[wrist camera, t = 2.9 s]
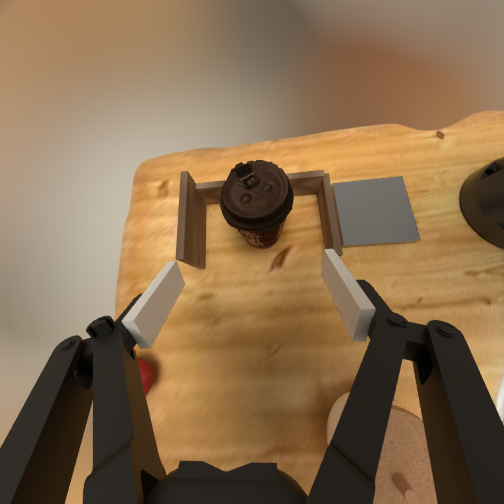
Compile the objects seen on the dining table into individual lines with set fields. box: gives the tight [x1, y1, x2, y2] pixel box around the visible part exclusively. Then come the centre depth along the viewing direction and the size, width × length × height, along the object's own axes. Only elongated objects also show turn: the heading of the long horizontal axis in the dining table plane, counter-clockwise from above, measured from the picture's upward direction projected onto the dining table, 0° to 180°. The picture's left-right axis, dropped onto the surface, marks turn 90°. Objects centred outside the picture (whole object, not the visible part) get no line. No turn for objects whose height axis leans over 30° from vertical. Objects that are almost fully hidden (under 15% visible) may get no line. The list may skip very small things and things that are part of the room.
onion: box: [137, 358, 153, 396], centre depth 24 cm, size 6×6×8 cm
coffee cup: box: [220, 160, 294, 249], centre depth 26 cm, size 9×8×13 cm
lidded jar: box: [327, 392, 437, 504], centre depth 19 cm, size 11×11×9 cm
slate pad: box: [331, 176, 420, 248], centre depth 30 cm, size 11×11×1 cm
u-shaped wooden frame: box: [176, 170, 343, 269], centre depth 28 cm, size 22×13×8 cm, turn 93°
